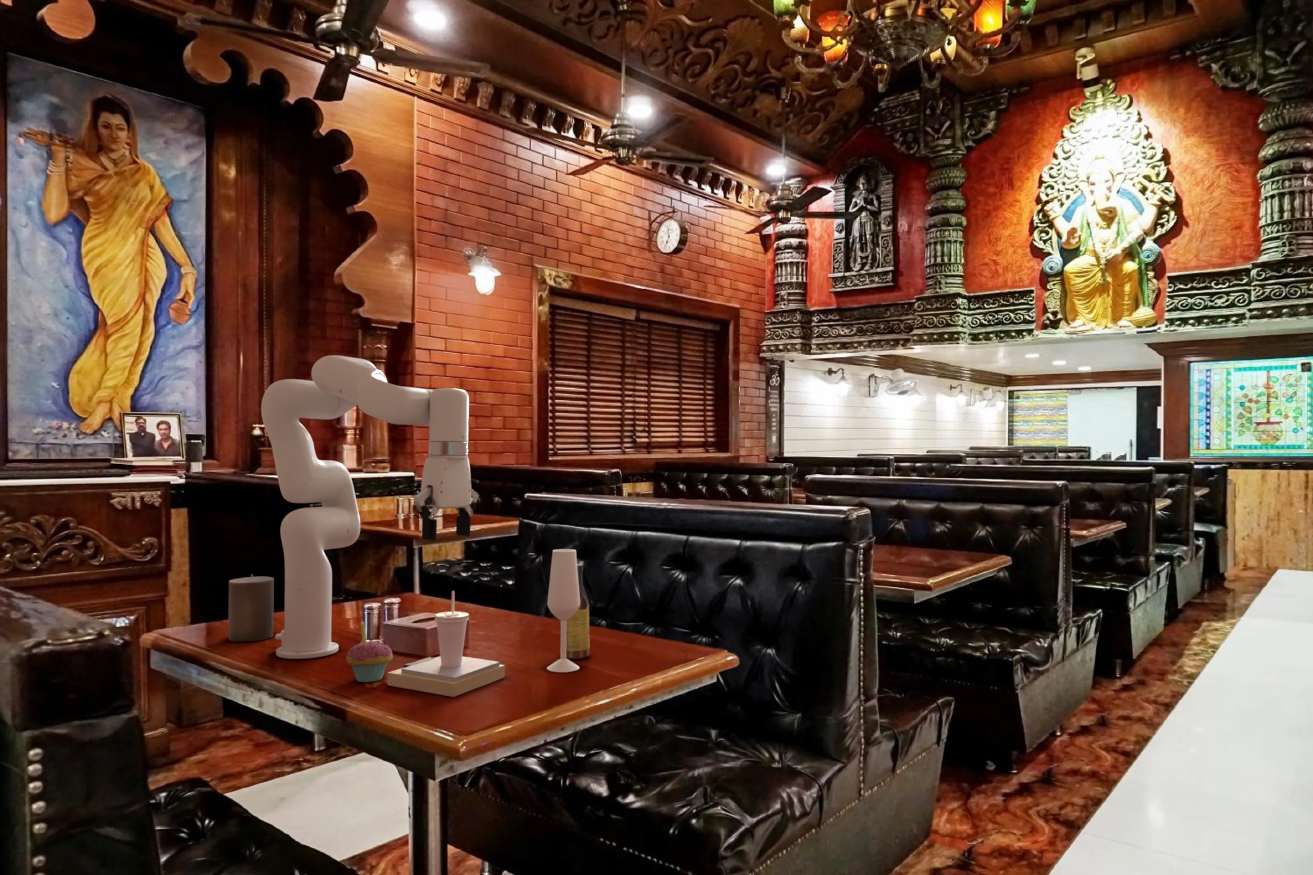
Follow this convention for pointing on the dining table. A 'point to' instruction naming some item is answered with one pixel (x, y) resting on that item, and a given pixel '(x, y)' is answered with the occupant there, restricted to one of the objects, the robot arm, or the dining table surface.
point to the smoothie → (451, 635)
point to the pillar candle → (251, 609)
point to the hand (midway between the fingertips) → (446, 537)
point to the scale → (446, 675)
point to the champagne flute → (563, 599)
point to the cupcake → (369, 659)
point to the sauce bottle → (578, 626)
